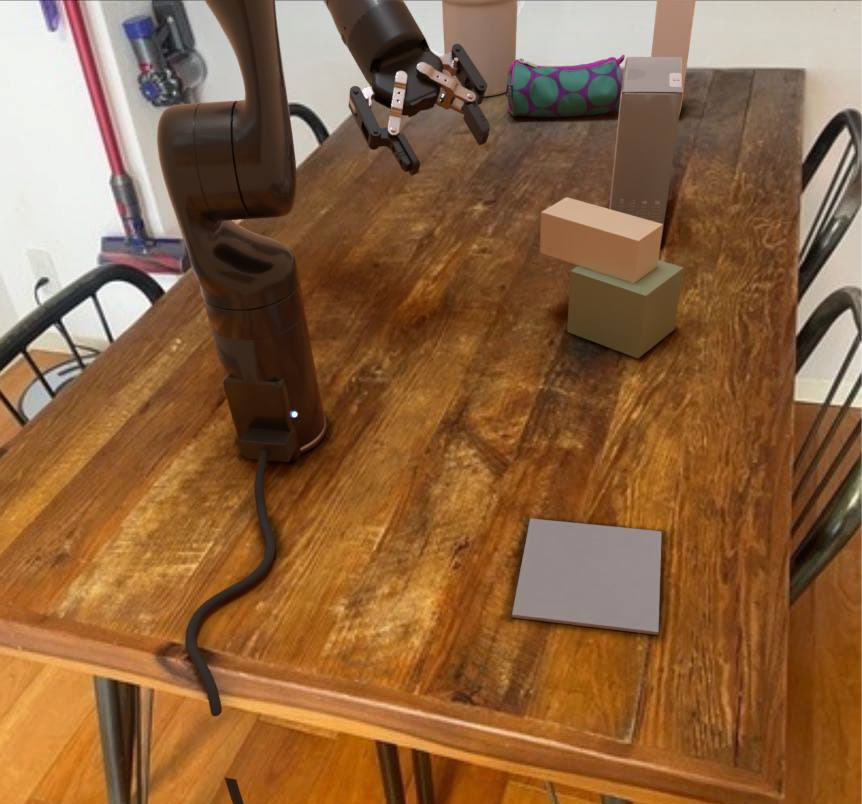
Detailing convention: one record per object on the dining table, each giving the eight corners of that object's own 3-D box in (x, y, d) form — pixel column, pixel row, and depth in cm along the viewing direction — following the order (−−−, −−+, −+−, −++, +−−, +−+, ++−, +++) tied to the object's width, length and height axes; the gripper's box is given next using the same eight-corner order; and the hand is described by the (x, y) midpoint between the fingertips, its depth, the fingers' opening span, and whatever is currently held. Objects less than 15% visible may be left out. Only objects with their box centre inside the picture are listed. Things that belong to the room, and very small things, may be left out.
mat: (657, 635, 70) (658, 632, 69) (511, 617, 72) (511, 614, 72) (661, 534, 78) (661, 531, 78) (530, 521, 80) (530, 518, 80)
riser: (566, 332, 104) (570, 270, 98) (604, 305, 108) (609, 244, 102) (637, 358, 99) (645, 295, 93) (674, 329, 103) (684, 267, 97)
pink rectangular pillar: (648, 108, 158) (662, -34, 143) (681, 108, 156) (700, -34, 141) (644, 119, 154) (659, -25, 139) (678, 120, 152) (697, -26, 137)
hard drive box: (661, 248, 118) (683, 92, 104) (605, 246, 119) (618, 92, 105) (663, 201, 129) (682, 54, 115) (611, 200, 130) (624, 54, 116)
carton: (539, 253, 102) (540, 211, 98) (564, 237, 104) (566, 196, 101) (633, 283, 95) (638, 240, 92) (657, 266, 98) (663, 223, 94)
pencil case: (505, 125, 156) (505, 67, 149) (507, 108, 162) (507, 52, 156) (621, 121, 154) (627, 62, 147) (618, 104, 160) (623, 47, 153)
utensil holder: (483, 70, 180) (481, -28, 168) (533, 84, 171) (535, -18, 159) (429, 88, 174) (423, -13, 161) (478, 104, 165) (476, -1, 153)
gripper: (319, 24, 87) (397, 160, 86) (439, -24, 89) (516, 107, 89) (317, 74, 94) (389, 200, 93) (428, 28, 97) (499, 150, 96)
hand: (451, 155), depth 91 cm, fingers open, 8 cm apart
